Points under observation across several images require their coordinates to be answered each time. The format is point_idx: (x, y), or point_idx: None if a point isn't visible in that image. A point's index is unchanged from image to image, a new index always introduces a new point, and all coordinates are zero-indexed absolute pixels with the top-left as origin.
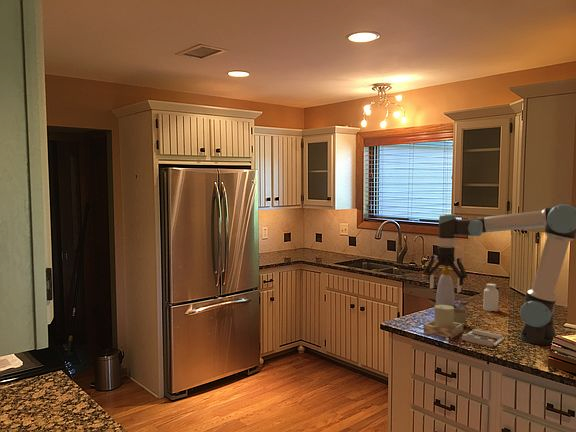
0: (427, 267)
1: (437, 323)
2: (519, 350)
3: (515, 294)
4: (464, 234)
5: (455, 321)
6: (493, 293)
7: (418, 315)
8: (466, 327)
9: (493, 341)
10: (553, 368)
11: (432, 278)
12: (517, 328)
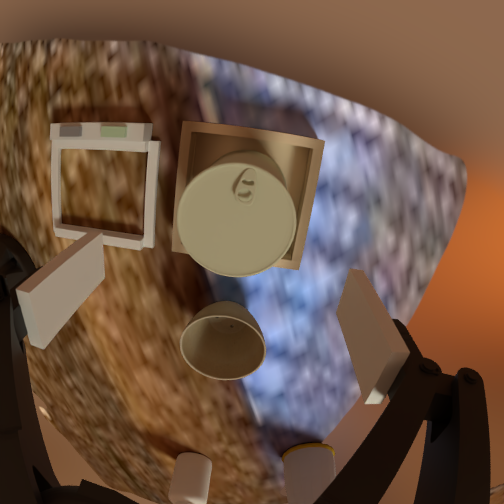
0: (481, 428)
1: (263, 159)
2: (8, 149)
3: None
4: None
5: (223, 302)
6: (175, 491)
7: None
8: (187, 298)
9: (54, 146)
10: None
11: (368, 348)
12: (77, 353)
